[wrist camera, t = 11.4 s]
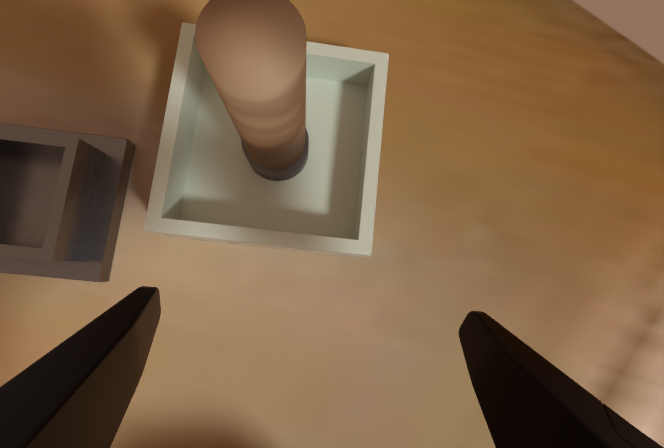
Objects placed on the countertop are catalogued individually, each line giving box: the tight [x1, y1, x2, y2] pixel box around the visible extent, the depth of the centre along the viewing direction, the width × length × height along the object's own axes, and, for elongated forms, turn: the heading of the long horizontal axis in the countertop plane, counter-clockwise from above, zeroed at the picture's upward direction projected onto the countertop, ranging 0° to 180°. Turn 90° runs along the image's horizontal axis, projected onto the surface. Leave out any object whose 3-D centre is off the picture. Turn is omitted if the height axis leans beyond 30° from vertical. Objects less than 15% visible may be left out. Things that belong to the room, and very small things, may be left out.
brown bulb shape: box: [195, 0, 309, 181], centre depth 16 cm, size 4×4×11 cm
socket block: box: [0, 123, 135, 282], centre depth 19 cm, size 9×9×4 cm
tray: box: [143, 22, 389, 257], centre depth 21 cm, size 13×13×4 cm
